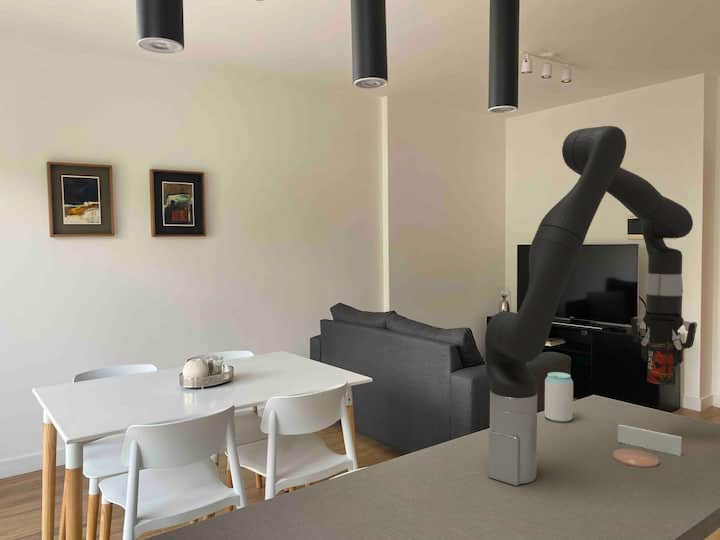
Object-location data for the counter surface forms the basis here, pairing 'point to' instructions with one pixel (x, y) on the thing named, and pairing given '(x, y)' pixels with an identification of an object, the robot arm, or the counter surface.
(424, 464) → the counter surface
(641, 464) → the coaster
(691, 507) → the counter surface
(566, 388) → the can
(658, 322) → the deodorant
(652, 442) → the acrylic wall
